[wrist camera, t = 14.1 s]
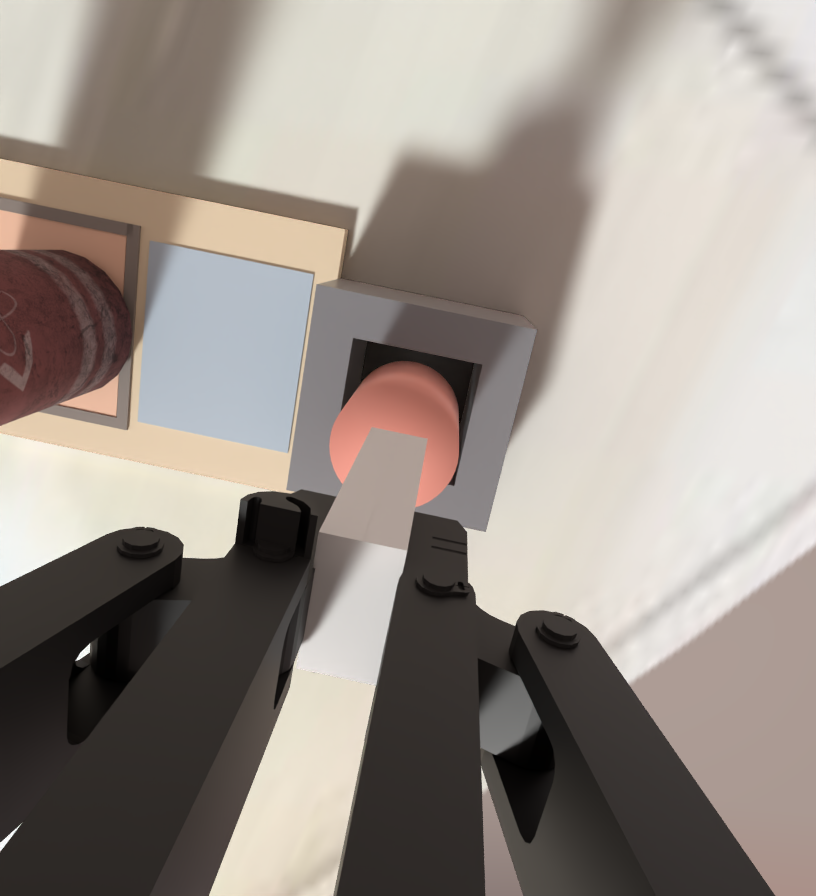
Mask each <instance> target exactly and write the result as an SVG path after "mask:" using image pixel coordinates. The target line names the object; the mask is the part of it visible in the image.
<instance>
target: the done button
mask: <svg viewBox="0 0 816 896" xmlns="http://www.w3.org/2000/svg"><path fill="white" fill-rule="evenodd" d="M372 427H374V428H379V429H384V430H388V431H393V432H398V433H403V434H407V435H412V436H417V437H422V438H426V439H428V440H427V445H426V451H425V456H424V462H423V467H422V473H421V478H420V484H419V489H418V495H417V500H416V506H415V507H418V506H421V505H423V504H425V503H427V502H429V501H431V500H432V499H434V498H435V497H436V496H438V495H439V494H440V493H441V492H442V491H443V490H444V489H445V487H446V486H447V485H448V484H449V482H450V480H451V479H452V477H453V475H454V473H455V470H456V467H457V463H458V457H459V409H458V403H457V399H456V396H455V393H454V391H453V389H452V388H451V386H450V384H449V383H448V382H447V380H446V379H445V378H444V377H443V376H442V375H441V374H439V373H438V372H437V371H436V370H434V369H432V368H431V367H429V366H426V365H424V364H421V363H417V362H412V361H397V362H391V363H388V364H385V365H383V366H380V367H379V368H377V369H375V370H374V371H372V372H371V373H370V374H369V375H368V376H367V377H366V378H365V379H364V380H363V381H362V383H361V384H360V385H359V387H358V388H357V390H356V391H355V392H354V394H353V395H352V397H351V398H350V399H349V401H348V402H347V403H346V405H345V406H344V408H343V409H342V410H341V412H340V413H339V415H338V417H337V418H336V420H335V422H334V425H333V427H332V431H331V435H330V443H329V448H330V457H331V462H332V465H333V468H334V470H335V473H336V475H337V477H338V478H339V480H340V481H341V483H342V484H343V483H344V481H345V479H346V477H347V475H348V473H349V471H350V469H351V467H352V465H353V463H354V461H355V459H356V457H357V455H358V453H359V451H360V449H361V447H362V445H363V443H364V441H365V439H366V437H367V436H368V434H369V432H370V430H371V428H372Z"/></svg>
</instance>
